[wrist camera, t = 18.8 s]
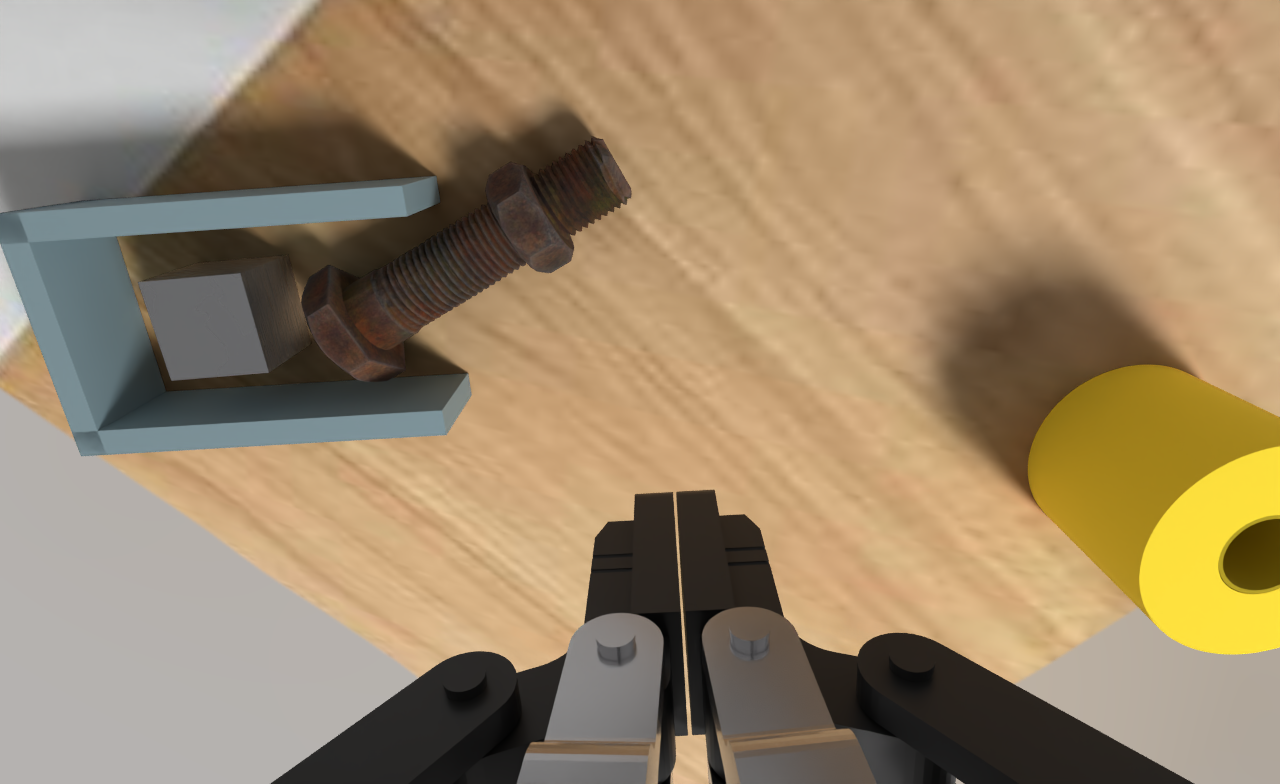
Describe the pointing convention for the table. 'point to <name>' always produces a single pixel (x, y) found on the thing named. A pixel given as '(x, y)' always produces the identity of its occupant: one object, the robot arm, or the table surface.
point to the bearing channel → (122, 353)
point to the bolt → (461, 260)
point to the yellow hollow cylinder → (1171, 500)
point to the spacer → (226, 317)
